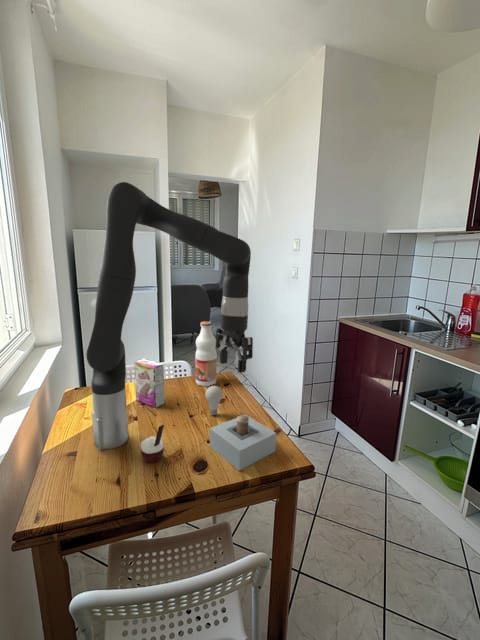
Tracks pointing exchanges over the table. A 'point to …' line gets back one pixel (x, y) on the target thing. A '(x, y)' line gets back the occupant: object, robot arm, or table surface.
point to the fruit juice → (206, 356)
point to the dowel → (242, 425)
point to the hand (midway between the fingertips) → (232, 367)
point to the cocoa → (153, 447)
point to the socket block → (242, 442)
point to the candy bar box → (149, 382)
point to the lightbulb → (213, 398)
